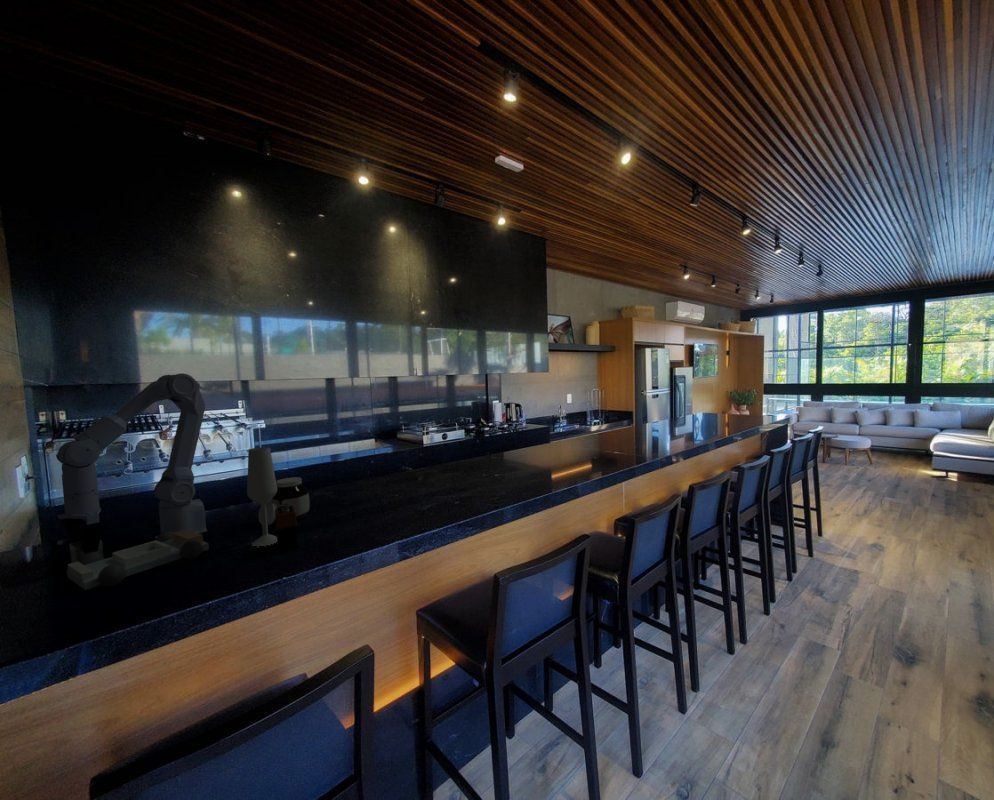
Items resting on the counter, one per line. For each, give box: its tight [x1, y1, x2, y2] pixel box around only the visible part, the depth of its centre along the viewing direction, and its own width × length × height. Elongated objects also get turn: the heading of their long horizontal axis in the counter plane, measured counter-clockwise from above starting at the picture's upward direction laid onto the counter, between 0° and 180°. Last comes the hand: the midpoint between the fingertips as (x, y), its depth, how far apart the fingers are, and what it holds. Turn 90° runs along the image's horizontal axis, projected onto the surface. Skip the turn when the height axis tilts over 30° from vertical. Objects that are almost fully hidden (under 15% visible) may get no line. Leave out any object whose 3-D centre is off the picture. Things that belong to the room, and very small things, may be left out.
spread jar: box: [258, 476, 310, 526], centre depth 121 cm, size 12×11×12 cm
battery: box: [275, 503, 299, 553], centre depth 102 cm, size 4×7×10 cm, turn 30°
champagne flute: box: [246, 446, 277, 548], centre depth 105 cm, size 7×7×24 cm
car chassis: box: [66, 529, 210, 591], centre depth 94 cm, size 22×15×4 cm
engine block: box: [69, 539, 104, 563], centre depth 97 cm, size 4×4×6 cm
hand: (86, 549), depth 97 cm, fingers open, 7 cm apart
